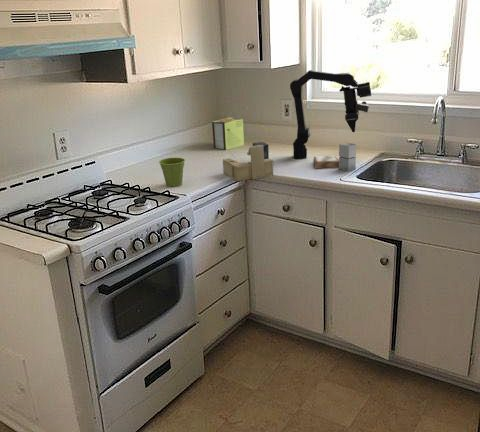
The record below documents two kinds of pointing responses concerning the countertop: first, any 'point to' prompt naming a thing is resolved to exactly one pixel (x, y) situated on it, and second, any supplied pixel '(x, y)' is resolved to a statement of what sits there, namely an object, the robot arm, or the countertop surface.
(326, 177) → the countertop surface
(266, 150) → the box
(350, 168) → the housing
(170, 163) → the plant pot
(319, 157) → the stand
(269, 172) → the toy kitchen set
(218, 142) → the protein box
